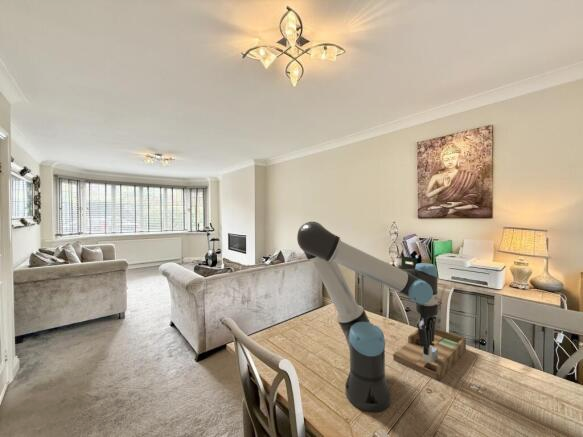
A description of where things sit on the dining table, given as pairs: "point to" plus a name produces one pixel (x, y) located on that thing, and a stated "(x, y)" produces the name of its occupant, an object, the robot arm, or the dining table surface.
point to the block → (434, 354)
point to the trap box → (447, 353)
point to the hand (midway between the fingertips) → (427, 361)
